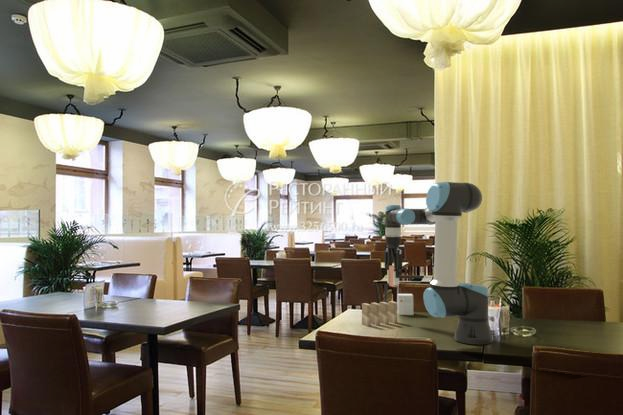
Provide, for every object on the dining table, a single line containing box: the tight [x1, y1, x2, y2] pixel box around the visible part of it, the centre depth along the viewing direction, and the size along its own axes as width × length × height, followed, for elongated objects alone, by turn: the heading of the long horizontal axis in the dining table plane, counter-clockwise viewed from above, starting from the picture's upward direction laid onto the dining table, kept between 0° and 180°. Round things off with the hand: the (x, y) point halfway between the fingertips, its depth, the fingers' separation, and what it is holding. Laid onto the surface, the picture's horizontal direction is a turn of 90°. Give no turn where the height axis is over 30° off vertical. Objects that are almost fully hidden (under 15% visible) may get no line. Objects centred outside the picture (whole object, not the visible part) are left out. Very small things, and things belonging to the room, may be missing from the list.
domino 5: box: [387, 300, 398, 324], centre depth 247 cm, size 2×5×10 cm, turn 25°
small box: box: [397, 293, 415, 316], centre depth 268 cm, size 8×6×10 cm
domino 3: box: [379, 301, 390, 325], centre depth 245 cm, size 2×5×10 cm, turn 25°
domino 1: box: [361, 302, 372, 327], centre depth 241 cm, size 2×5×10 cm, turn 25°
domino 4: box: [388, 264, 399, 288], centre depth 248 cm, size 2×5×10 cm, turn 23°
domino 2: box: [370, 302, 381, 326], centre depth 243 cm, size 2×5×10 cm, turn 25°
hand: (393, 283), depth 247 cm, fingers closed on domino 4, 5 cm apart
